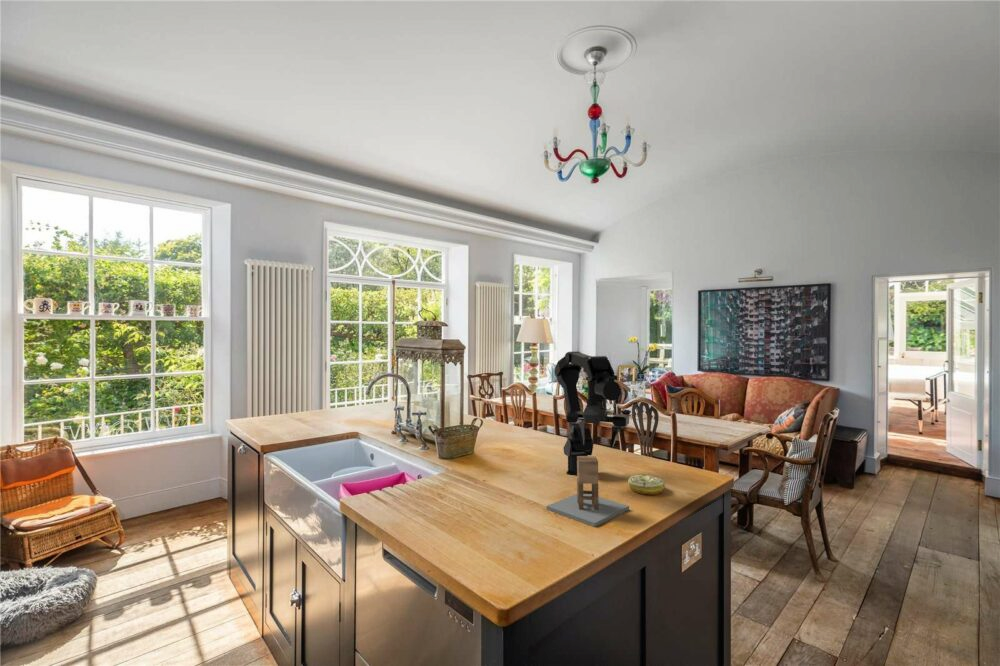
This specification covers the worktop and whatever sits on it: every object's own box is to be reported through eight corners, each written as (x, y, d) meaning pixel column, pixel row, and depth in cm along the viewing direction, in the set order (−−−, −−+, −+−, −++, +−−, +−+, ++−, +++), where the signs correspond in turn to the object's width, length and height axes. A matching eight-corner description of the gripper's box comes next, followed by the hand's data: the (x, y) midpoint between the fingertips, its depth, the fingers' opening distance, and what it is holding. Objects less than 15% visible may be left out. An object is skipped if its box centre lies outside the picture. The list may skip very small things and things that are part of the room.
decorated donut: (648, 483, 149) (648, 471, 149) (672, 493, 139) (671, 481, 139) (621, 487, 146) (621, 475, 146) (643, 498, 136) (643, 485, 136)
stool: (577, 502, 130) (577, 456, 130) (596, 502, 129) (595, 456, 129) (579, 509, 125) (578, 461, 125) (598, 509, 124) (598, 461, 124)
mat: (546, 509, 127) (546, 505, 127) (582, 494, 138) (581, 491, 138) (594, 527, 116) (594, 523, 116) (629, 509, 127) (629, 506, 127)
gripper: (560, 397, 142) (560, 448, 142) (621, 401, 134) (622, 455, 134) (571, 393, 152) (571, 440, 152) (629, 396, 144) (629, 446, 144)
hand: (597, 445), depth 145 cm, fingers open, 9 cm apart
